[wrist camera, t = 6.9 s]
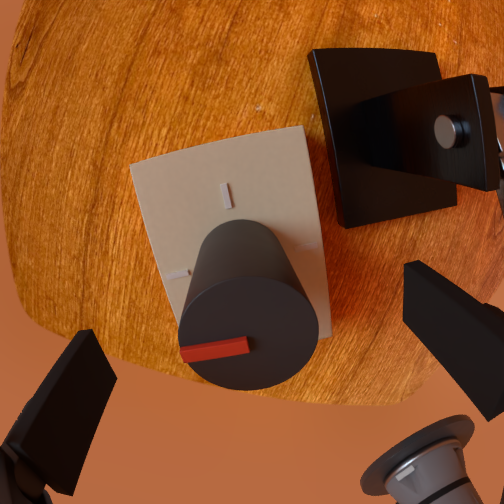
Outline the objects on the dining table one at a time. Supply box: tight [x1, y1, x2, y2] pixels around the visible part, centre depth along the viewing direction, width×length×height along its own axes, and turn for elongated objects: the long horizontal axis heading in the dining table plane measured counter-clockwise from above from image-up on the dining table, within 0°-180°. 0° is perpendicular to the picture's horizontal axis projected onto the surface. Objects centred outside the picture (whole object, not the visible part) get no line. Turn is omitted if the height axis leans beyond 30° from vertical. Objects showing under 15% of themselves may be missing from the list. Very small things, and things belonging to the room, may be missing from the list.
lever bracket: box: [307, 48, 504, 229], centre depth 13 cm, size 12×10×12 cm
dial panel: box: [130, 125, 332, 340], centre depth 19 cm, size 14×10×3 cm
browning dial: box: [178, 219, 319, 391], centre depth 14 cm, size 5×5×8 cm
